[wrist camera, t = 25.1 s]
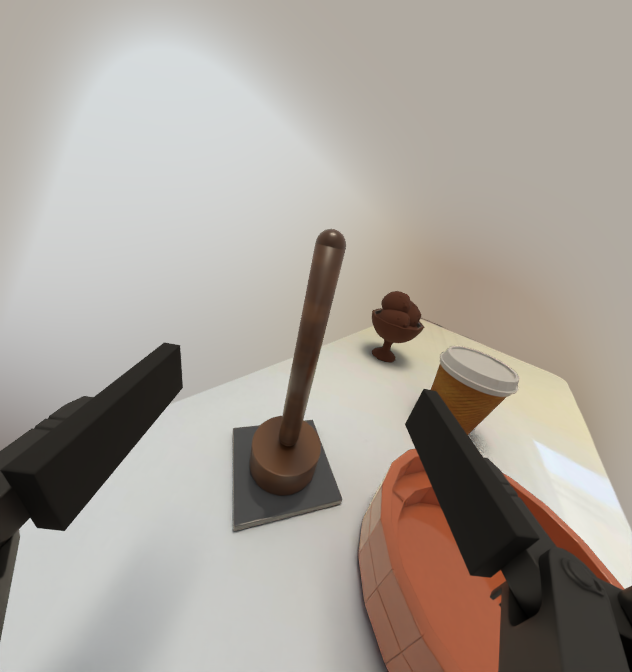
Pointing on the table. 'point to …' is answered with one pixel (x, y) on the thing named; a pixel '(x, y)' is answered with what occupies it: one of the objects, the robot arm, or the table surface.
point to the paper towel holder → (300, 384)
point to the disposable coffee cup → (473, 384)
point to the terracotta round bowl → (437, 577)
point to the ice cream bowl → (395, 323)
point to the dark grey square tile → (266, 507)
